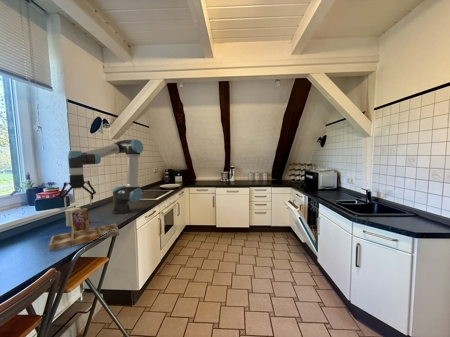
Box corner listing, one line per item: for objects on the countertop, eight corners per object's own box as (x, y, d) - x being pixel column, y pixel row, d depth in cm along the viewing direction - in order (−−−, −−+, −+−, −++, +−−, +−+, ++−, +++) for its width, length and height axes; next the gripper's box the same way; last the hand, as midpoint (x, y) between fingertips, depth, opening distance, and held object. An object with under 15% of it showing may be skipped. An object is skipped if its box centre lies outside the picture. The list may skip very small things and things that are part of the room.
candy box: (87, 229, 138) (86, 207, 137) (89, 230, 135) (88, 208, 134) (71, 233, 131) (70, 210, 130) (73, 235, 129) (71, 212, 127)
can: (73, 226, 143) (72, 210, 142) (62, 225, 145) (61, 209, 144) (84, 222, 152) (83, 207, 151) (74, 221, 154) (73, 206, 153)
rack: (115, 228, 140) (115, 223, 139) (119, 235, 127) (119, 230, 127) (52, 241, 120) (51, 235, 119) (49, 251, 107) (48, 245, 107)
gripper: (98, 172, 141) (100, 202, 142) (52, 175, 126) (54, 207, 127) (99, 173, 135) (101, 204, 136) (50, 176, 120) (53, 210, 121)
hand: (78, 206), depth 132 cm, fingers open, 13 cm apart
